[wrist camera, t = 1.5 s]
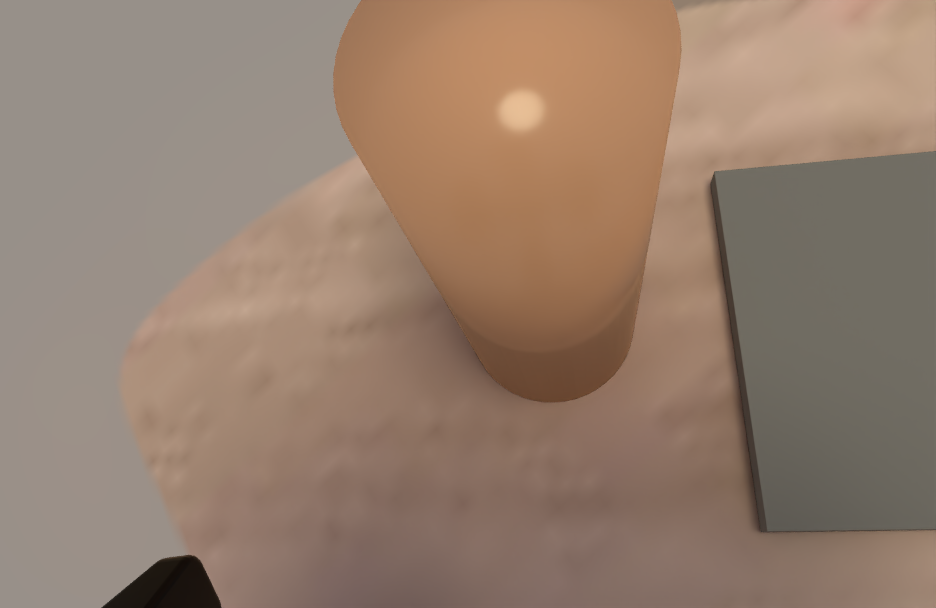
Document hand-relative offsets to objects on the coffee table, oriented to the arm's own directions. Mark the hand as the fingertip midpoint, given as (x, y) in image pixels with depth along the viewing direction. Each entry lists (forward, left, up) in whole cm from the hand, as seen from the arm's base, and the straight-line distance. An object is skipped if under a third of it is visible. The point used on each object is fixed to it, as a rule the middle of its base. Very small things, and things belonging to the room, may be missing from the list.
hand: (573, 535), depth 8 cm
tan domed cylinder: (+7, +1, -13) cm, 15 cm away
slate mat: (+6, -10, -13) cm, 18 cm away
